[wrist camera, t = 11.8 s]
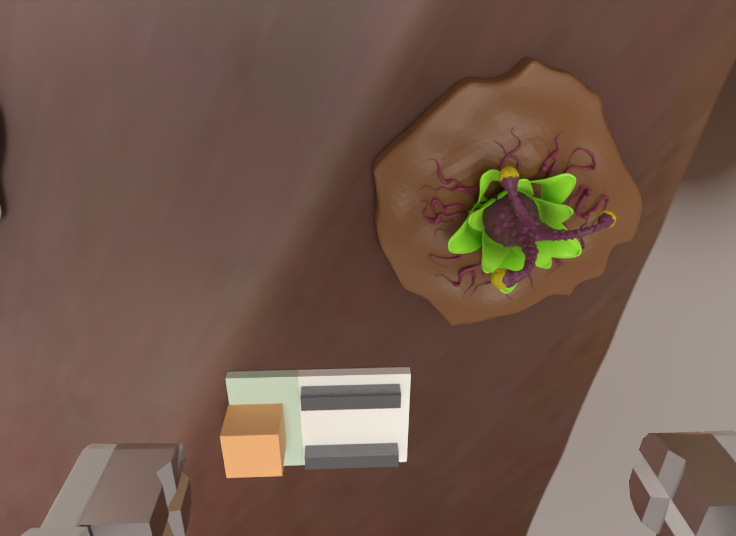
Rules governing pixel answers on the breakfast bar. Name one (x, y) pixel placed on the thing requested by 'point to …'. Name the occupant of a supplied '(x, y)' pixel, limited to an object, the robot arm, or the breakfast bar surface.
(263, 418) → the orange block
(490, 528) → the breakfast bar surface
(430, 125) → the plant
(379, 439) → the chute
